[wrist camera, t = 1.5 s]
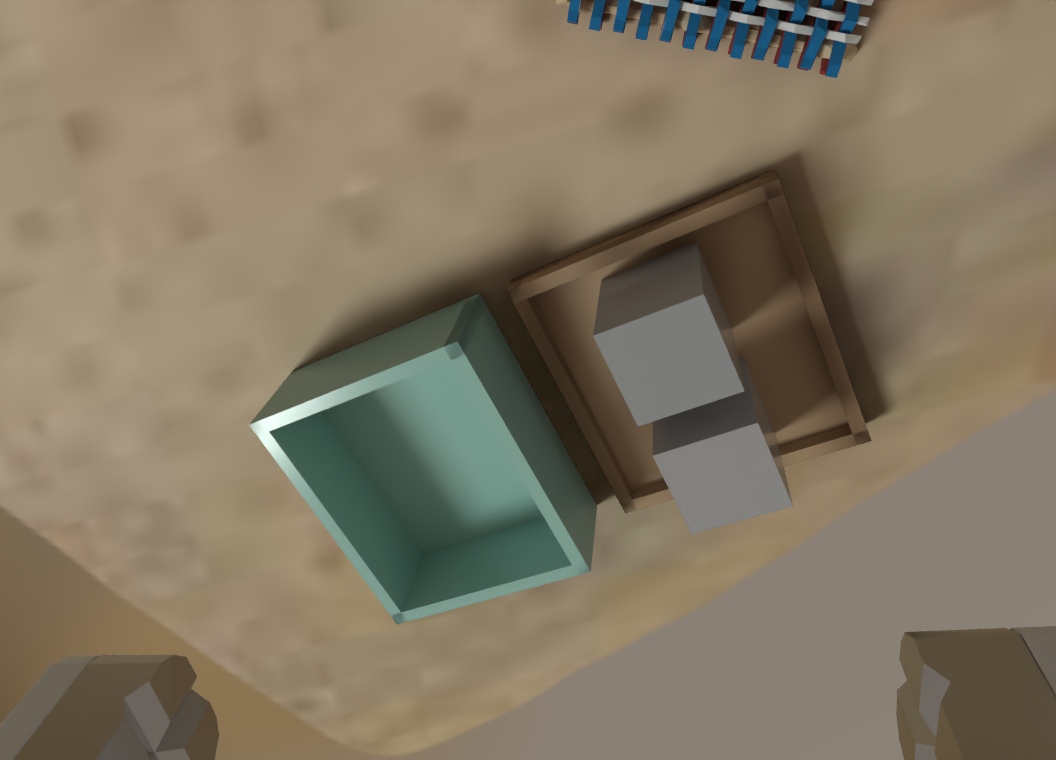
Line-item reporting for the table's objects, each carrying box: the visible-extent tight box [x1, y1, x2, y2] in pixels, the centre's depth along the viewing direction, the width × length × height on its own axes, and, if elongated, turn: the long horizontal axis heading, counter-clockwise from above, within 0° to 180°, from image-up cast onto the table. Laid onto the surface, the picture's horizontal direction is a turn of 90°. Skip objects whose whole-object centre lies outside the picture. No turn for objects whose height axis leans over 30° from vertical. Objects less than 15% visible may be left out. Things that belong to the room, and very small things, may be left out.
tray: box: [507, 170, 871, 513], centre depth 33 cm, size 11×12×1 cm
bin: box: [249, 293, 597, 624], centre depth 36 cm, size 10×12×4 cm
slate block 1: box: [593, 242, 745, 426], centre depth 30 cm, size 4×4×5 cm
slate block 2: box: [653, 357, 793, 534], centre depth 32 cm, size 4×4×5 cm
